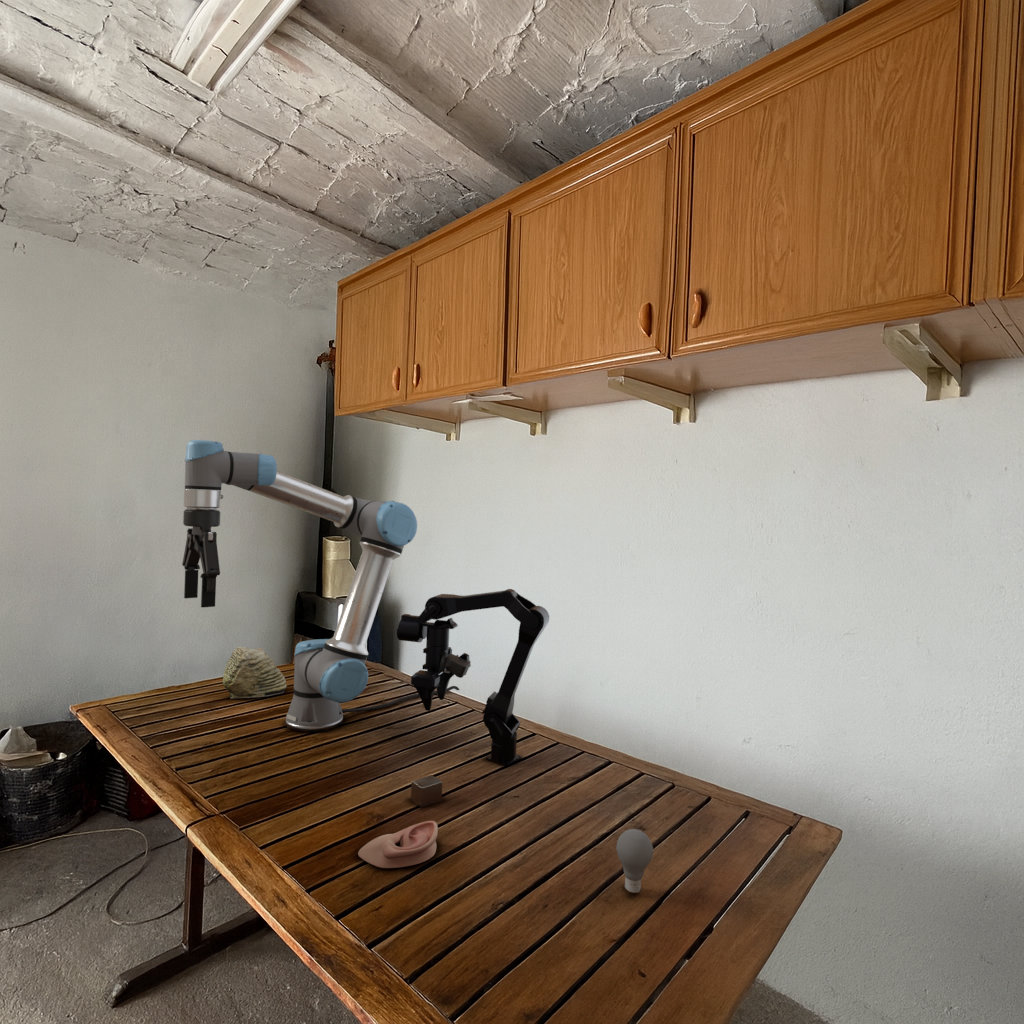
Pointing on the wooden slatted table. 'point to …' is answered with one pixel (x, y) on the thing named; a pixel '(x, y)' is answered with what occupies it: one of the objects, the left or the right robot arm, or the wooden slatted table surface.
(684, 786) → the wooden slatted table surface
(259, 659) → the fossil
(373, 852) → the anatomical model
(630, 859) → the light bulb
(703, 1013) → the wooden slatted table surface
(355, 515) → the left robot arm
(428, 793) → the block
